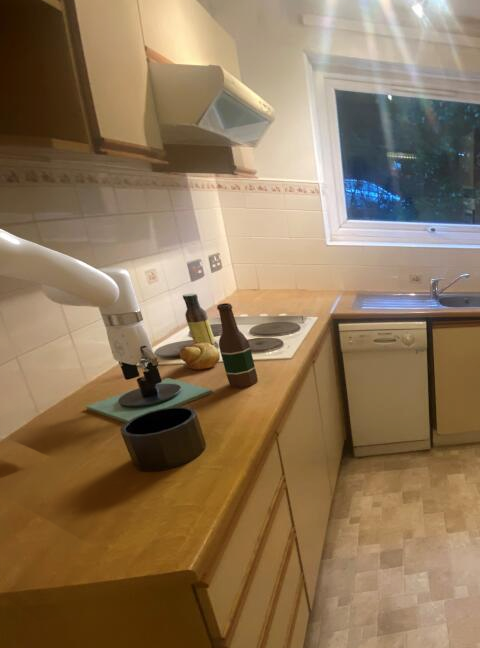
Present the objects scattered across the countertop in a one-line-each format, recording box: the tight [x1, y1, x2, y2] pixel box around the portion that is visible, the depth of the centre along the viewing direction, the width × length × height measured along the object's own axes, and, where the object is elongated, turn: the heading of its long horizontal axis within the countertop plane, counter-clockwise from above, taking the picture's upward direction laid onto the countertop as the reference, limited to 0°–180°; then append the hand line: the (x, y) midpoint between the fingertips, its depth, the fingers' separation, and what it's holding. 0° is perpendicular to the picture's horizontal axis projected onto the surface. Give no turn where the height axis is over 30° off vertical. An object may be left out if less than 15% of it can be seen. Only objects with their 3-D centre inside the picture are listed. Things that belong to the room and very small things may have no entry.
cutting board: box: [85, 377, 214, 424], centre depth 118 cm, size 20×20×1 cm
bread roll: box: [178, 343, 221, 370], centre depth 141 cm, size 13×10×8 cm
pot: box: [119, 406, 207, 473], centre depth 93 cm, size 13×13×8 cm
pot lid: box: [118, 375, 181, 407], centre depth 116 cm, size 13×13×6 cm
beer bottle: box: [216, 302, 259, 389], centre depth 124 cm, size 8×8×24 cm
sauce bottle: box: [182, 292, 217, 347], centre depth 152 cm, size 6×6×20 cm
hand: (143, 381), depth 115 cm, fingers open, 9 cm apart
